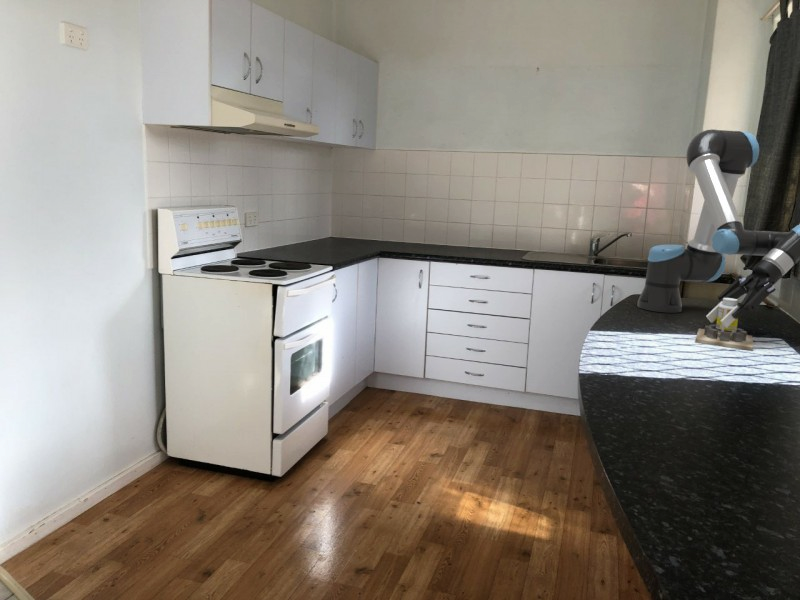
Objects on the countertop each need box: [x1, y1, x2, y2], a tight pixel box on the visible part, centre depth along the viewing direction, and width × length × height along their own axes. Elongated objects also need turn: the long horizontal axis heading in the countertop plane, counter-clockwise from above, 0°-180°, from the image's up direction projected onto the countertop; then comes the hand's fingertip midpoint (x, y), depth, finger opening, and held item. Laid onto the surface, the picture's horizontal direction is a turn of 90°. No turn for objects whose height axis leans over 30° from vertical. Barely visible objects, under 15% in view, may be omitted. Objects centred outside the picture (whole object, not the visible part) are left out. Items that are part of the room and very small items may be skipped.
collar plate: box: [694, 324, 754, 351], centre depth 198 cm, size 15×17×4 cm
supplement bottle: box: [715, 298, 739, 334], centre depth 197 cm, size 6×6×10 cm
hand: (716, 321), depth 197 cm, fingers closed on supplement bottle, 5 cm apart
